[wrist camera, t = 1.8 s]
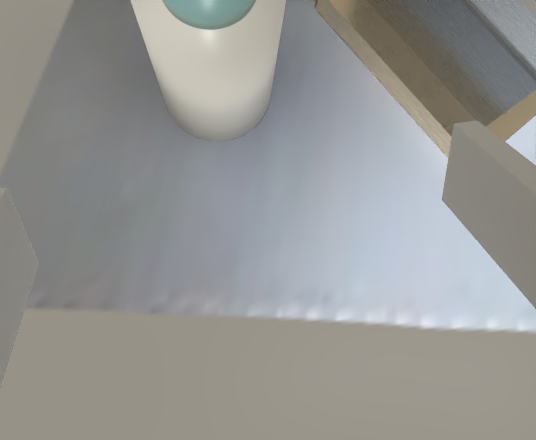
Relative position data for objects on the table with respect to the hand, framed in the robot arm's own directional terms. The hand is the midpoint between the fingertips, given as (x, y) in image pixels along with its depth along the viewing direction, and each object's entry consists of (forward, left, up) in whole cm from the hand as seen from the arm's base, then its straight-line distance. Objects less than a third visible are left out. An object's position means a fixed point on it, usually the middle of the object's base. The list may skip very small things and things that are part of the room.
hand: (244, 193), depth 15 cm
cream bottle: (+9, -6, -16) cm, 20 cm away
